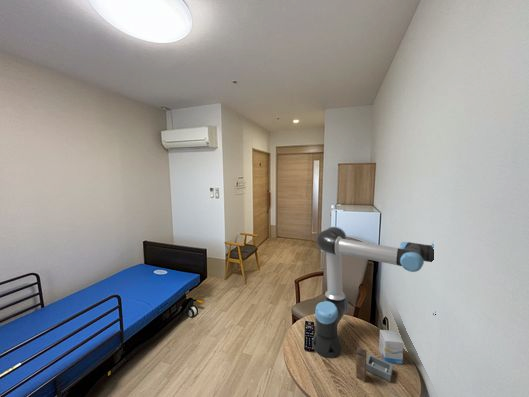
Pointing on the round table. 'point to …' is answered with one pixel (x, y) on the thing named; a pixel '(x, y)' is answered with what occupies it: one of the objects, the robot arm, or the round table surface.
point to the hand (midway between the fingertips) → (439, 321)
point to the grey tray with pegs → (379, 367)
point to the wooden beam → (361, 364)
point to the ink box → (391, 346)
